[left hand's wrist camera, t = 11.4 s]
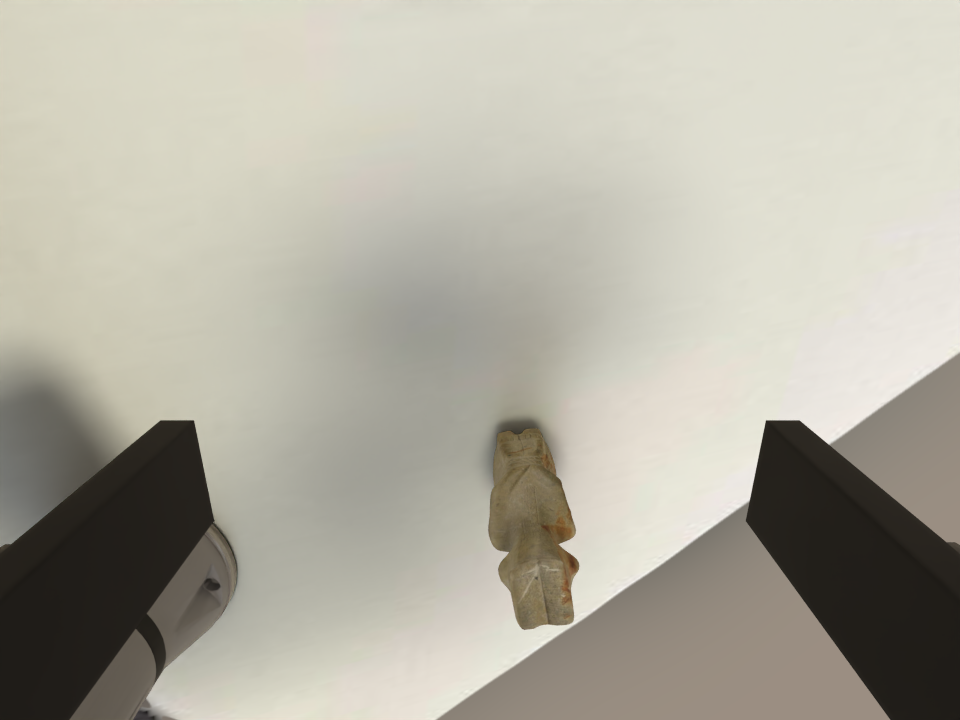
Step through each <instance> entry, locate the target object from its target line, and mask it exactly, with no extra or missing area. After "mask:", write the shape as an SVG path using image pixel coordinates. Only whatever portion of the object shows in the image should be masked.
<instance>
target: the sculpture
mask: <svg viewBox="0 0 960 720" xmlns="http://www.w3.org/2000/svg"><path fill="white" fill-rule="evenodd" d="M493 478H494V486H495V487H494V488H493V489H492V493H491V499H490V518H489V529H488V531H489V537H490V540H491V542H492V544H493V546H494V547H495V548H496V549H497V550H500V551H505V552H509V554H508V555H507V556H506V557H505V558H504V559H503V561H502V562H501V563H500V565H499V569H498V571H499V576H500V579H501V581H502V582H503V583H504V584H505V586H506V587H507V588H508V589H509V591H510V592H511V596H512V601H513V606H514V611H515V616H516V619H517V622H518V624H519V626H520V627H521V628H522V629H524V630H526V629H534V628H536V627H538V626H541V625H546V624H549V625H567V624H570V623H572V622H573V620H574V611H573V603H572V596H571V584H572V581H573V578H574V576H575V575H576V573H577V572H578V570H579V562H578V561H577V559H576V558H575V557H574V556H572V555H571V554H569V553H568V552H567V551H565V550H564V549H563V548H562V547H560V546H559V545H558V544H560V543H562V542H565V541H567V540H570V539H571V538H572V537H574V535H575V533H576V529H575V525H574V522H573V519H572V516H571V511H570V509H569V506H568V503H567V500H566V497H565V493H564V490H563V488H562V483H561V481H560V479H559V478H558V477H557V476H556V470H555V464H554V461H553V458H552V455H551V453H550V450H549V448H548V446H547V444H546V442H545V441H544V439H543V437H542V435H541V432H540V430H539V429H536V428H532V429H525V430H524V431H523V432H522V433H521V434H514V433H513V432H512V431H505V432H501V433H498V435H497V447H496V450H495V455H494V464H493Z"/></svg>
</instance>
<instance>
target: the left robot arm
mask: <svg viewBox="0 0 960 720" xmlns="http://www.w3.org/2000/svg"><path fill="white" fill-rule="evenodd" d="M213 522H214V518H213V513H212V508H211V503H210V498H209V493H208V488H207V483H206V478H205V473H204V468H203V463H202V458H201V453H200V448H199V443H198V438H197V433H196V428H195V423H194V421H159V422H158V423H157V424H156V425H155V426H153V427H152V428H151V429H150V430H149V431H147V432H146V433H145V434H144V435H142V436H141V437H140V438H139V439H138V440H136V441H135V442H134V443H133V444H132V445H130V446H129V447H128V448H127V449H126V450H124V451H123V452H122V453H121V454H120V455H118V456H117V457H116V458H115V459H114V460H112V461H111V462H110V463H109V464H108V465H106V466H105V467H104V468H103V469H101V470H100V471H99V472H98V473H97V474H95V475H94V476H93V477H92V478H91V479H89V480H88V481H87V482H86V483H85V484H83V485H82V486H81V487H80V488H79V489H77V490H76V491H75V492H74V493H73V494H71V495H70V496H69V497H68V498H67V499H65V500H64V501H63V502H62V503H60V504H59V505H58V506H57V507H56V508H54V509H53V510H52V511H51V512H50V513H48V514H47V515H46V516H45V517H44V518H42V519H41V520H40V521H39V522H38V523H36V524H35V525H34V526H33V527H32V528H30V529H29V530H28V531H27V532H26V533H24V534H23V535H22V536H21V537H19V538H18V539H17V540H16V541H15V542H13V543H12V544H5V545H4V546H2V547H0V720H133V719H134V717H135V715H136V714H137V712H138V710H139V709H140V707H141V705H142V704H143V702H144V700H145V699H146V697H147V696H148V694H149V692H150V691H151V689H152V687H153V685H154V684H155V682H156V681H157V679H158V677H159V676H160V674H161V673H162V671H163V670H164V668H165V667H167V666H168V665H169V664H170V663H171V662H172V661H173V660H175V659H176V658H177V657H178V656H179V655H180V654H181V653H183V652H184V651H185V650H186V649H187V648H188V647H189V646H190V645H192V644H193V643H194V642H195V641H196V640H197V639H198V638H200V637H201V636H202V635H203V634H204V633H205V632H206V631H208V630H209V629H210V628H211V627H212V626H213V624H214V623H215V622H216V621H217V620H218V619H219V617H220V616H221V615H222V613H223V612H224V610H225V608H226V606H227V604H228V603H229V601H230V599H231V597H232V595H233V593H234V590H235V586H236V580H237V570H236V563H235V559H234V556H233V553H232V551H231V549H230V547H229V545H228V543H227V542H226V540H225V538H224V537H223V536H222V534H221V533H220V532H219V531H218V529H217V528H216V527H215V526H214V525H213V524H212V523H213ZM746 522H747V523H748V525H749V526H750V527H751V529H752V530H753V531H754V533H755V534H756V535H757V537H758V538H759V540H760V541H761V542H762V544H763V545H764V547H765V548H766V549H767V551H768V552H769V553H770V555H771V556H772V558H773V559H774V560H775V562H776V563H777V564H778V566H779V567H780V569H781V570H782V571H783V573H784V574H785V575H786V577H787V578H788V580H789V581H790V582H791V584H792V585H793V586H794V588H795V589H796V591H797V592H798V593H799V595H800V596H801V597H802V599H803V600H804V602H805V603H806V604H807V606H808V607H809V608H810V610H811V611H812V612H813V614H814V615H815V617H816V618H817V619H818V621H819V622H820V623H821V625H822V626H823V628H824V629H825V630H826V632H827V633H828V635H829V636H830V637H831V639H832V640H833V641H834V643H835V644H836V646H837V647H838V648H839V650H840V651H841V652H842V654H843V655H844V656H845V658H846V659H847V661H848V662H849V663H850V665H851V666H852V667H853V669H854V670H855V671H856V673H857V674H858V676H859V677H860V678H861V680H862V681H863V683H864V684H865V685H866V687H867V688H868V689H869V691H870V692H871V694H872V695H873V696H874V698H875V699H876V700H877V702H878V703H879V705H880V706H881V707H882V709H883V710H884V711H885V713H886V714H887V716H888V717H889V718H890V720H960V545H959V544H957V543H954V542H953V543H951V542H945V541H944V540H943V539H942V538H941V537H939V536H938V535H937V534H936V533H934V532H933V531H932V530H931V529H930V528H928V527H927V526H926V525H925V524H924V523H922V522H921V521H920V520H919V519H918V518H916V517H915V516H914V515H913V514H911V513H910V512H909V511H908V510H907V509H906V508H904V507H903V506H902V505H901V504H899V503H898V502H897V501H896V500H895V499H893V498H892V497H891V496H890V495H889V494H887V493H886V492H885V491H884V490H883V489H881V488H880V487H879V486H878V485H877V484H875V483H874V482H873V481H872V480H870V479H869V478H868V477H867V476H866V475H864V474H863V473H862V472H861V471H860V470H859V469H857V468H856V467H855V466H854V465H852V464H851V463H850V462H849V461H848V460H846V459H845V458H844V457H843V456H842V455H840V454H839V453H838V452H837V451H836V450H834V449H833V448H832V447H831V446H830V445H828V444H827V443H826V442H825V441H824V440H822V439H821V438H820V437H819V436H818V435H816V434H815V433H814V432H813V431H811V430H810V429H809V428H808V427H807V426H805V425H804V424H803V423H802V422H801V421H766V423H765V428H764V433H763V438H762V443H761V448H760V453H759V458H758V463H757V468H756V473H755V478H754V483H753V488H752V493H751V498H750V503H749V508H748V513H747V518H746Z"/></svg>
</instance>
